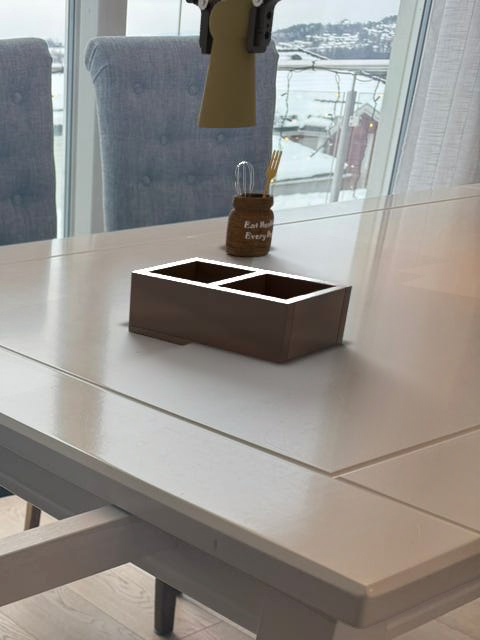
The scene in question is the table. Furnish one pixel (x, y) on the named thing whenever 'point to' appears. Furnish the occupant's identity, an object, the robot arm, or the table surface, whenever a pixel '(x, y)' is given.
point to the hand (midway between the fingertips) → (232, 52)
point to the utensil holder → (252, 218)
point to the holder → (238, 309)
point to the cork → (229, 69)
